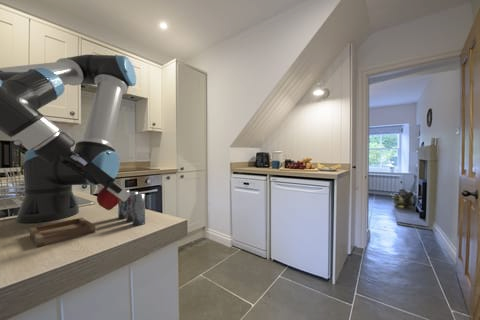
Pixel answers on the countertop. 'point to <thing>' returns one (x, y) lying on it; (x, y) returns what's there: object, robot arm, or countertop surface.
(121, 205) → the spacer left
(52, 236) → the tray
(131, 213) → the spacer mid
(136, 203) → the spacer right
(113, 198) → the onion
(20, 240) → the countertop surface
